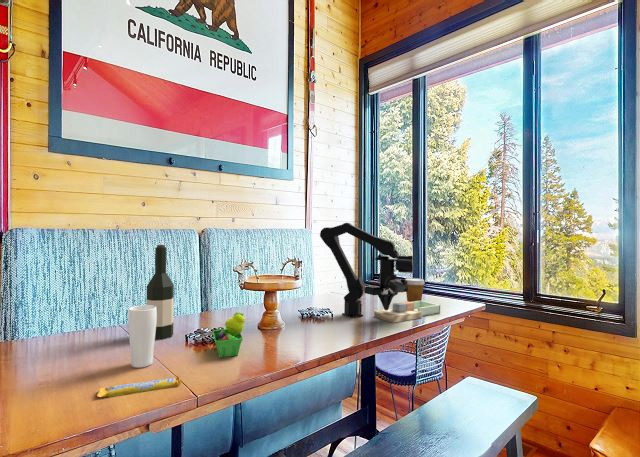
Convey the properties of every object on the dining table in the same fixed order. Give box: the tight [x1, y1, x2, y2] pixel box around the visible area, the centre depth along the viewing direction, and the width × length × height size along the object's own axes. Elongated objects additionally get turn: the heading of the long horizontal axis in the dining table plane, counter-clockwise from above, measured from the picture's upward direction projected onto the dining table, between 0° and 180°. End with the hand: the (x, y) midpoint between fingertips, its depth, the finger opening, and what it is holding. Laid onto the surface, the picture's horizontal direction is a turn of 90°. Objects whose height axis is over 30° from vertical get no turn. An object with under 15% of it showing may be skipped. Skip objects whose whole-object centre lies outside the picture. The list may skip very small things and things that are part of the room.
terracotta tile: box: [400, 300, 414, 311], centre depth 156 cm, size 4×4×3 cm
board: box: [373, 307, 423, 324], centre depth 153 cm, size 16×11×2 cm
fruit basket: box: [212, 311, 246, 358], centre depth 109 cm, size 11×9×11 cm
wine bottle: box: [145, 244, 175, 341], centre depth 122 cm, size 8×8×30 cm
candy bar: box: [96, 375, 182, 398], centre depth 83 cm, size 17×4×2 cm, turn 114°
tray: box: [412, 300, 441, 317], centre depth 162 cm, size 13×11×4 cm
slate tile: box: [392, 301, 407, 312], centre depth 154 cm, size 4×4×3 cm
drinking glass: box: [127, 304, 157, 369], centre depth 97 cm, size 7×7×15 cm
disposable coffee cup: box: [405, 277, 426, 302], centre depth 178 cm, size 10×10×12 cm
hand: (386, 310), depth 150 cm, fingers closed
